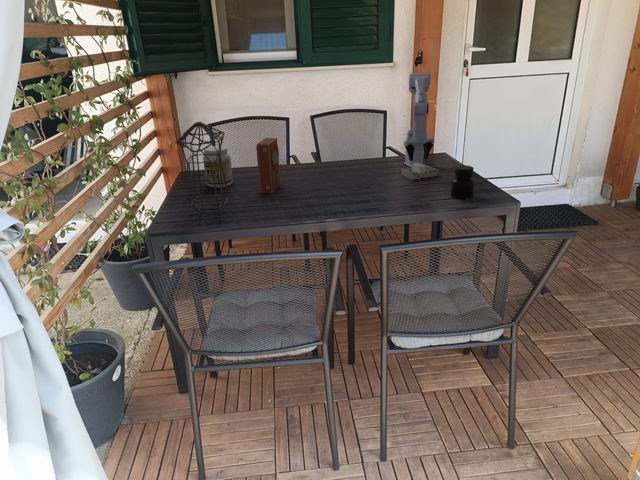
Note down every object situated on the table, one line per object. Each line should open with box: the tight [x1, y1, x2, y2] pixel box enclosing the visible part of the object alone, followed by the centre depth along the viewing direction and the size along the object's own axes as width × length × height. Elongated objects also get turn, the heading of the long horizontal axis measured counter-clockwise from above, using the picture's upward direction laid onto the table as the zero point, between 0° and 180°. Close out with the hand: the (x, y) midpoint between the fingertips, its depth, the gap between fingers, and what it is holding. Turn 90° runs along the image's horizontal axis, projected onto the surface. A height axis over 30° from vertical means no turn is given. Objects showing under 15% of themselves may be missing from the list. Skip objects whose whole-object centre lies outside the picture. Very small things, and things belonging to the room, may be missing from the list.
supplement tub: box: [202, 145, 234, 189], centre depth 209 cm, size 12×12×17 cm
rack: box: [400, 164, 439, 181], centre depth 214 cm, size 10×14×3 cm
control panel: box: [255, 137, 281, 194], centre depth 199 cm, size 21×7×15 cm
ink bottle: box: [450, 164, 476, 200], centre depth 183 cm, size 10×9×12 cm
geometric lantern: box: [174, 121, 229, 218], centre depth 170 cm, size 16×16×35 cm
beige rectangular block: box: [411, 163, 426, 173], centre depth 212 cm, size 7×3×5 cm, turn 20°
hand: (418, 159), depth 211 cm, fingers open, 7 cm apart
